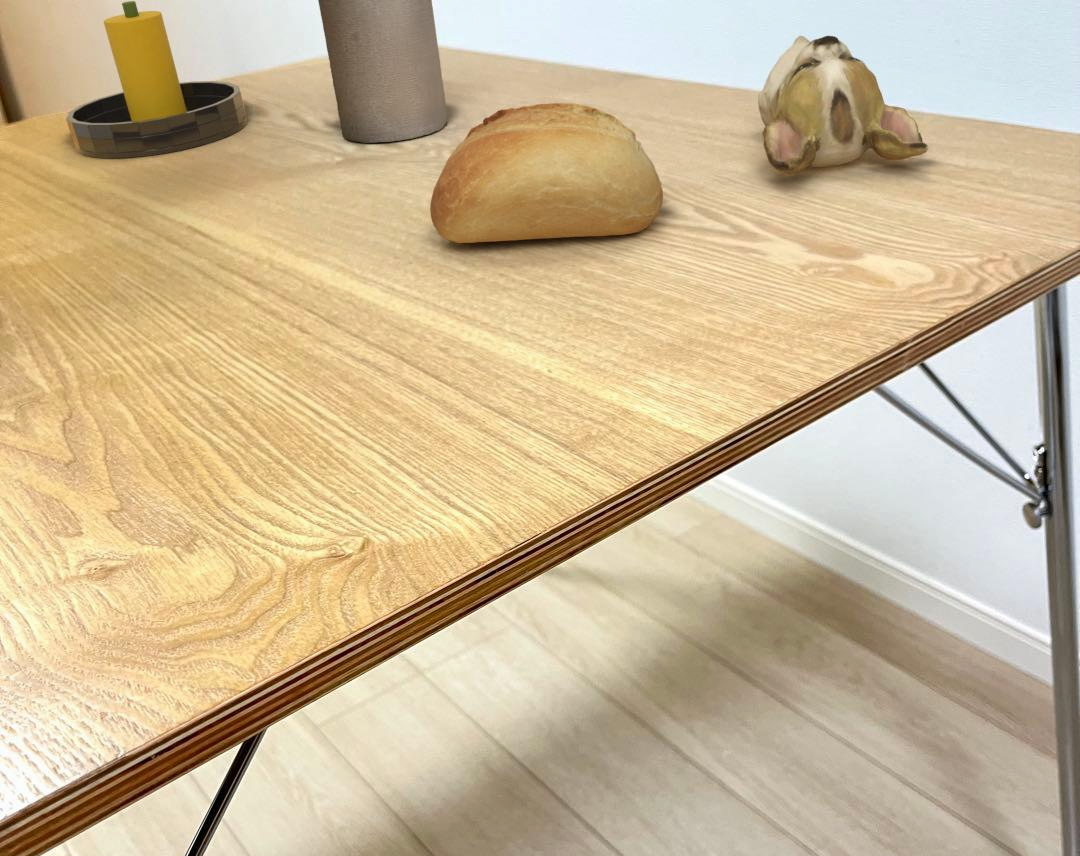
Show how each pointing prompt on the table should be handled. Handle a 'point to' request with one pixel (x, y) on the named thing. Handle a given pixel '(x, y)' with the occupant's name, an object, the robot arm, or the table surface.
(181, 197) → the table surface
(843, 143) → the ceramic sculpture
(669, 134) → the table surface
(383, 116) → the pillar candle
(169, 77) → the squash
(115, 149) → the pan
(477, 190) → the bread roll
